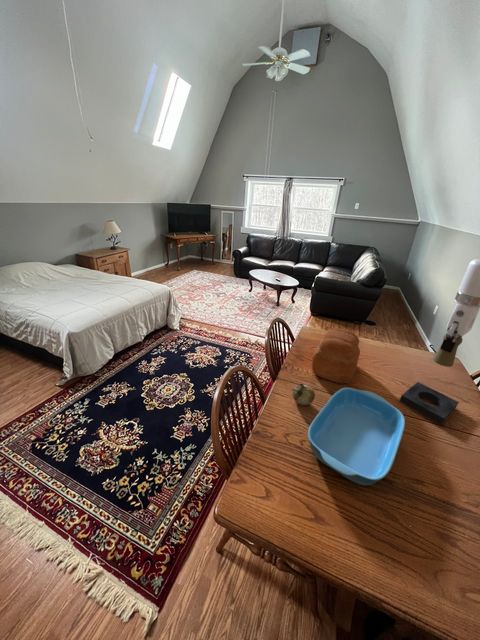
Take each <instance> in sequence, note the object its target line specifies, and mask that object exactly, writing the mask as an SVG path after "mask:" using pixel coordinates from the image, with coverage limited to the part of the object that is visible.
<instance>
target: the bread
mask: <svg viewBox="0 0 480 640" xmlns="http://www.w3.org/2000/svg"><path fill="white" fill-rule="evenodd" d="M359 345H360V339H359V337H358V336H357V335H356V333H354V332H352V331H350V330H347V329H343V328H331V329H328V330H327V331H326V332H325V333H324V335H323V337H322V338H321V340H320V342H319V344H318V345H317V346H316V348H315V351H314V353H313V356H312V358H311V369H312V372H313V373H314V375H315V376H318V377H320V378H322V379H323V380H328V381H330V382H333V383H337V384H347V383H350V382H351V381H352V379H353V377H354V376H355V373H356V370H357V367H358V362H359V359H360V355H361V350H360V347H359Z"/></svg>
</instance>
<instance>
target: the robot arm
mask: <svg viewBox="0 0 480 640" xmlns="http://www.w3.org/2000/svg"><path fill="white" fill-rule="evenodd" d="M454 302H455V303H456V304H455V307H454V308H453V311H452V313H451V315H450V317H449V320H448V322H447V324H446V327H445V331H446V333H447V335H446V337H445V339H444V341H442V343H441V344H440V346H441V348H440V347H439V348H440V349H441V350H444V351H447V352H449V353H451V352H452V350H453V348H454V346H455V343H456V342H455V341H456V339H457V337H458V335H460V336H461V337H462V338H463V336H465V335H467V334H468V333H469V332H470V331H471V330H472V328H473V326H474V324H475V322H476V319H477V317H478V314H479V312H480V258H475V259H472V260H470V262H469V264H468V266H467V268H466V271H465V273H464V275H463V278H462V281H461V283H460V285H459V288H458V290H457V292H456V294H455V297H454ZM453 334H454V335H455V337H454V336H453ZM459 346H460V345H458V347H459Z"/></svg>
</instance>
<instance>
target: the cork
mask: <svg viewBox="0 0 480 640" xmlns="http://www.w3.org/2000/svg"><path fill="white" fill-rule="evenodd" d="M447 333H448V332H446V333H444V335H443V336H442V340H443V341H444V339H445V337H446V335H447ZM453 336H454V337H455V335H454V334H453ZM443 341H442V342H443ZM455 342H456V343H455V346H454V348H453V350H452V352H451V353H449V352H447V351H444V350H441V349H440V348H441V345H440V346H439V348H438V350H437V351H436V353H435V354H434V355H433V357H432V360H433V362H434V363H435V364H438V365H440V366H443V367H449V368H451V367H453V366H454V363H455V359H456V355H457V352H458V347H459V346H460V345H461V344H462V342H463V336H462V337H461V336H460V335H458V337H457V339H456V341H455ZM458 345H459V346H458Z"/></svg>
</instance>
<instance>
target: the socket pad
mask: <svg viewBox="0 0 480 640" xmlns="http://www.w3.org/2000/svg"><path fill="white" fill-rule="evenodd" d="M422 399H426V400H429V401H431V402H432V403H434V404H435V405H433V404H430V403H427V402H426V401H424V400H422ZM399 402H400V403H402V404H404V405H405V406H407V407H409V408H410V409H412V410H414V411H416V412H417V413H419V414H421V415H422V416H425V417H426V418H428V419H430V420H432V421H433V422H434V423H437V424H439V425H441V426H442V425H443V424H444V423H445V422H446V421H447V419H448V418H449V417H450V416H451V415H452V413H453V412H454V411H455V410H456V409H457V406H458V405H459V402H460V401H457V400H456V399H453V398H451V397H450V396H447V395H445V394H444V393H441V392H439V391H438V390H435V389H433V388H431V387H429V386H427V385H426V384H423V383H421V382H419V381H416V382H415V383H414V384H413V385H412V386H411V387H409V388H408V389H407V390H406V391H405V392H404V393H403V394H401V396H400V398H399Z"/></svg>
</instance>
